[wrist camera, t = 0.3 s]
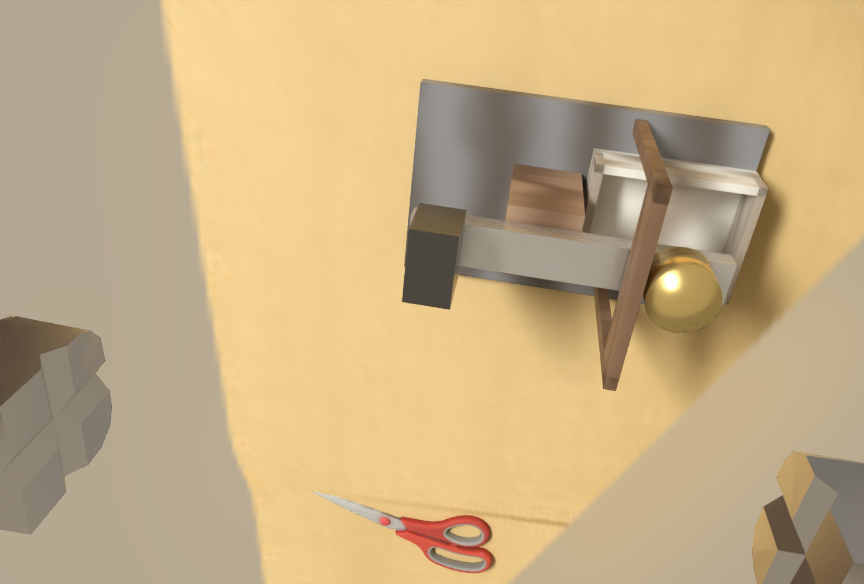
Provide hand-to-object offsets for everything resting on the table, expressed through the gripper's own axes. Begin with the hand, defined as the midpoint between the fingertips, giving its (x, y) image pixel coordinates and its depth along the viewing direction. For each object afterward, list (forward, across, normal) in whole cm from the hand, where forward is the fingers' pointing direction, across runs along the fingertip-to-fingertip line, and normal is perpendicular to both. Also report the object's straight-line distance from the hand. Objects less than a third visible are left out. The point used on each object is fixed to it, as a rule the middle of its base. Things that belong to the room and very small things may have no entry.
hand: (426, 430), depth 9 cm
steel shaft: (+37, -5, +15) cm, 40 cm away
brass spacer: (+36, -12, +15) cm, 40 cm away
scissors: (+48, +5, +54) cm, 72 cm away
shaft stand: (+46, -5, +15) cm, 49 cm away
